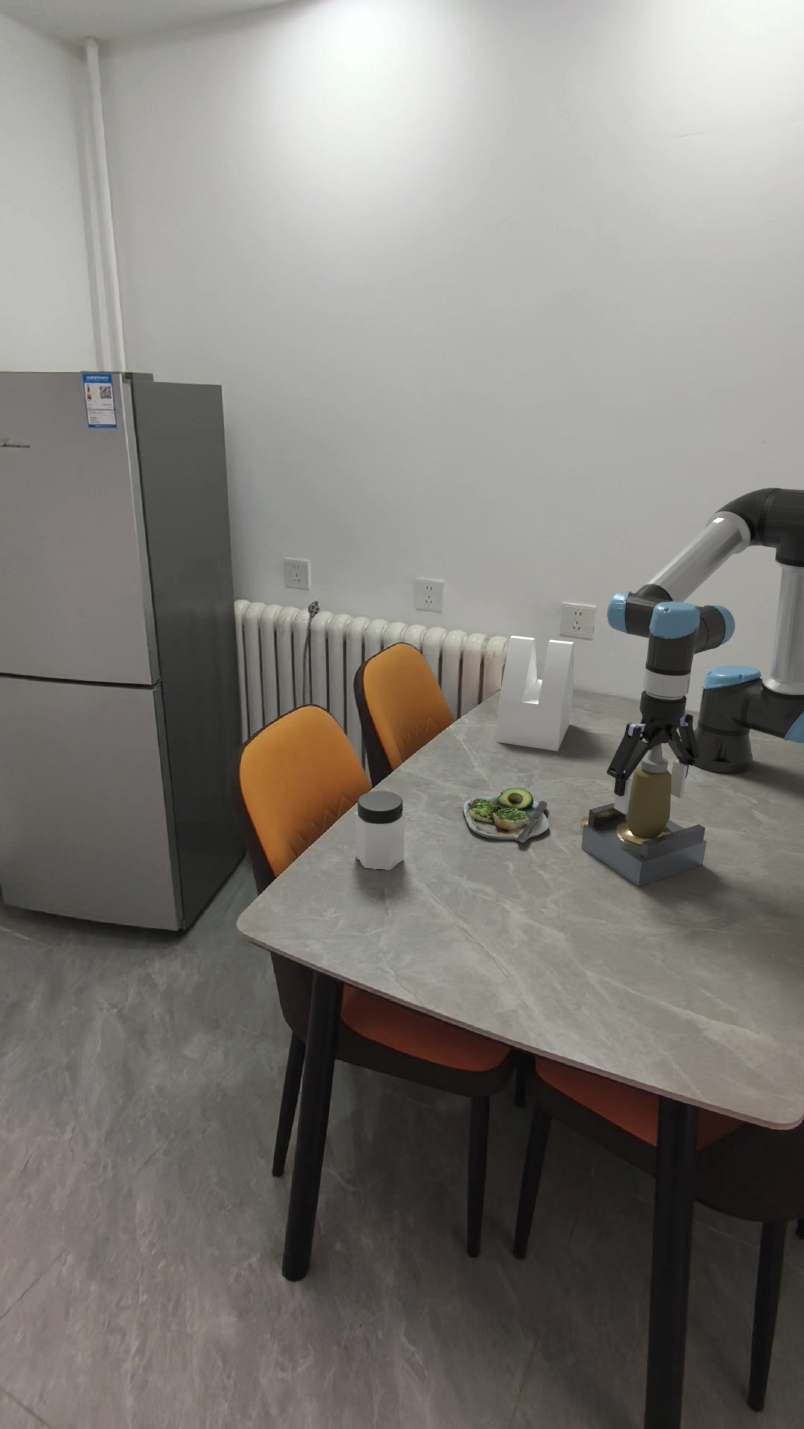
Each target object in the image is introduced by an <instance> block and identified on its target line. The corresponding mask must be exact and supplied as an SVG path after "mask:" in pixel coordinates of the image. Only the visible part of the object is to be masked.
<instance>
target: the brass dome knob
mask: <svg viewBox="0 0 804 1429" xmlns="http://www.w3.org/2000/svg"><path fill="white" fill-rule="evenodd" d="M588 819H589V815H586V816H583V817H582V818H581V819H580V824H579V831H580V833H581V834H582V835H583V828H584V825H585V824H588Z"/></svg>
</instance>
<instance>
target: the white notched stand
mask: <svg viewBox="0 0 804 1429" xmlns="http://www.w3.org/2000/svg"><path fill="white" fill-rule="evenodd" d="M508 644H509V645H508V649H507V654H506V660H505V666H504V670H503V671H504V672H503V675H502V676H503V677H502V682H501V688H500V693H499V698H498V714H497V724H496V725H497V727H496V741H495V742H496V743H501V744H508V745H516V746H522V747H528V748H533V749H540V750H541V749H543V750H548V751H554V752H555V751H556V752H559V749H560V747H561V744H562V743H563V739H564V738H565V735H566V732H567V731H568V729H569V726H570V723H571V722H570V720H571V714H572V702H573V692H574V691H573V690H574V680H575V679H574V677H575V675H574V673H575V672H574V670H575V669H574V663H575V662H574V660H575V659H574V658H575V657H574V648H575V647H574V645H575V643H574V641H564V640H558V639H557V640H555V639H550V640H549V641H548V644H547V651H546V655H545V656H546V657H545V662H544V668H543V674H542V679H538V674H537V673H538V672H537V655H536V654H537V653H536V652H537V651H536V638H535V637H528V636H519V635H511V636H510V639H509V643H508Z"/></svg>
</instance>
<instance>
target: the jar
mask: <svg viewBox="0 0 804 1429" xmlns="http://www.w3.org/2000/svg"><path fill="white" fill-rule="evenodd" d="M403 802H404V801H403V798H402V797H401V796H400V795H399V794H397V793H395V792H391V791H387V790H373V791H368V792H366V793H365V792H364V793H363V794H362V795H360V796H359V797H358V798H357V803H356V804H357V811H355V813H354V816H355V817H354V819H355V820H354V823H355V824H354V826H355V827H354V828H355V830H354V832H355V835H354V836H355V837H354V838H355V842H354V843H355V844H354V845H355V855H356V856H357V858H358V859H359V860H360V862H361V863H362V864H363V865H364V867H366V868H376V869H385V870H384V871H391V870H392V869H393V868H394V867H396V866H397V865H398V863H399V864H400V863H401V862H402V861H404V858H405V828H406V827H405V824H406V823H405V821H406V820H405V819H406V818H405V816H406V815H405V814H404V813H403V811H404V803H403ZM357 858H356V859H357ZM358 859H357V860H358ZM360 862H359V863H360ZM361 863H360V864H361ZM362 864H361V865H362ZM364 867H363V868H364ZM376 869H375V870H376Z"/></svg>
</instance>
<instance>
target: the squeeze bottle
mask: <svg viewBox="0 0 804 1429" xmlns="http://www.w3.org/2000/svg"><path fill="white" fill-rule="evenodd" d="M639 765H640V766H639ZM639 765H638V766H637V767H636V769H635V770H634V771H633V776H632V779H631V780H632V784H631V791H630V799H629V806H628V813H627V814H625V816H626V820H627V824H628V828H629V830H630V831H631V832H632V833H633V834H636V835H638V836H642V837H657V836H659V835H660V834H661V833H662V831H663V829H664V827H665V826H666V824H667V822H668V821H669V820H670V816H671V798H672V794H671V779H672V775H671V772H670V771H669V770H668V766H669V761H668V759H667V758H665V757H663V750H662V743H661V744H659V745H656V746H654V747H653V748H652V750H649V753H648V754H647V755H646V754H645V756H644V757H643V759H642V760H641V761H640V764H639Z"/></svg>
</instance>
